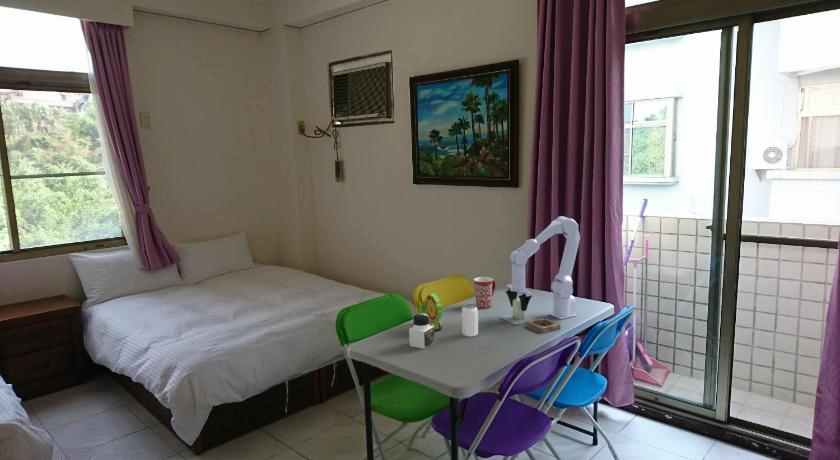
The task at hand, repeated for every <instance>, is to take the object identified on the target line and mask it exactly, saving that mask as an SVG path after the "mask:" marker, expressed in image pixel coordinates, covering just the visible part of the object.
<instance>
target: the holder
mask: <svg viewBox="0 0 840 460" xmlns="http://www.w3.org/2000/svg"><path fill="white" fill-rule="evenodd" d="M540 325H545V326H540ZM525 327H526V328H529V329H531V330H532V331H535V332H537V333H539V334H545V333H549V332H553V331H554V332H555V331H558V330H561V324H560V323H558V322H555V321H553V320H551V319H549V318H546V317H542V318H538V319H537V318H536V320H532V321H527V322H526V323H525Z"/></svg>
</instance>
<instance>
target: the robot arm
mask: <svg viewBox="0 0 840 460" xmlns="http://www.w3.org/2000/svg"><path fill="white" fill-rule="evenodd" d="M579 227H580V226H579V224H578V223H577V222H576V220H575V219H573V218H569V217H566V216H564V215H562V216H561V215H560V216H558V217H557V218H556V219H554V220H552V222H551V223H550V224H549V225H548V226H547V227H546V228H544V230H542V231H541V232H540V233H539V234H538V235H537V236H536V237H535V238H530V239H526V240H525V243H524V244H523V245H521V246H520V247H518V248H517V249H516V250H514V251H511V253H510V256H509V261H510V262H511V283H510V284H509V283H508V284H506V289H507V290H506V291H505V293H506V295H507V297H508V300H509V303H510V307H512V308H513V300H514V299H520V302H521V310H522V311H524V312H526V311H527V309H528V306H529V303H530V301H531V299H532V298H533V297H532V296H533V295H532V292H531V290H529V289H528V288H526V264H527V262H528V259H529V258H530V257H532V256H533V255H534V254H535V253H536V252H538V251H539V250H540V248H541V244H543V243H544V242H546V241H547V240H548V239H550V238H551V237H552V236H554V235H555V234H557V235H558V234H559V235H560V234H563V236H564V237H565V238H566V242H565V245H564V248H563V249H564V250H563V252H562V253H563V254H562V258H561V262H560V267H559V270H558V273H557V274H556V275H555V278H554V279H553V280H552V282H551V285H550V288H551V290H552V292H553V297H552V299H553V300H552V302H553V303H552V304H553V305H552V307H553V308H552V312H550V313H548V315H549V316H552V317H554V318H557V319H558V320H563V319H568V318H573V317H577V315H578V314H577V313H576V310H577V308H576V307H577V303H576V302H577V301H576V298H575V296H574V295H572V294H573V292H574V289H573V283H574V282H573V280H572V273H573V269H574V266H575V262H576V257H577V253H578V249H579V245H580V240H581V235H580V232H579ZM518 293H519V294H521V295H518Z"/></svg>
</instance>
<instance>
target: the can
mask: <svg viewBox="0 0 840 460" xmlns="http://www.w3.org/2000/svg"><path fill="white" fill-rule="evenodd" d="M478 309H479V308H477V306H476V304H473V303H465V304H463V305H462V308H461V330H462V331H461V332H462V335H463V336H464V337H468V338H471V337H472V338H473V337H477V336H478V334H479V310H478Z"/></svg>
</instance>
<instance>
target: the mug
mask: <svg viewBox="0 0 840 460" xmlns="http://www.w3.org/2000/svg"><path fill="white" fill-rule="evenodd" d="M473 281H474V282H473V283H474V293H475V295H474V296H475V305H476V306H477V309H482V310H484V309H485V310H486V309H490V308H492V306H493V305H492V301H493V295H494V294H495V289H496V281H495V280H494V279H493V277H489V276H480V277H475V278H473Z"/></svg>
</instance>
